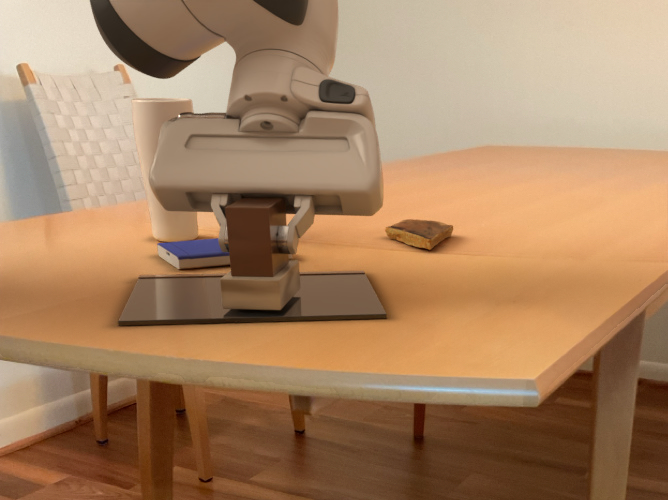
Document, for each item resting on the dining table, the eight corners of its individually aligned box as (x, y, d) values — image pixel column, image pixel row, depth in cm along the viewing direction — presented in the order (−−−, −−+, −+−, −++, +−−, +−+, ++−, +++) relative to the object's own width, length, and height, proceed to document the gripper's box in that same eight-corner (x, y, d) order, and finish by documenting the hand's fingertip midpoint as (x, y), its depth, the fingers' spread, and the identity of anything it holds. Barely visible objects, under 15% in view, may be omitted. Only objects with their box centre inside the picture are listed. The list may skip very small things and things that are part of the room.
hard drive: (264, 233, 104) (156, 241, 99) (292, 245, 98) (178, 254, 92) (265, 247, 105) (158, 256, 99) (292, 260, 98) (179, 270, 93)
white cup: (136, 238, 109) (119, 98, 102) (186, 232, 113) (173, 97, 106) (164, 246, 104) (149, 101, 97) (216, 240, 108) (204, 99, 101)
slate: (118, 325, 74) (117, 319, 74) (139, 280, 89) (139, 275, 89) (386, 318, 77) (386, 312, 77) (364, 275, 92) (364, 270, 92)
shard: (430, 252, 103) (430, 236, 102) (366, 248, 105) (366, 231, 104) (455, 237, 112) (456, 221, 111) (396, 232, 114) (396, 217, 113)
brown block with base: (280, 310, 76) (273, 209, 73) (222, 309, 77) (212, 208, 73) (300, 288, 83) (295, 195, 80) (247, 287, 84) (239, 195, 80)
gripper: (152, 86, 79) (125, 223, 75) (386, 89, 77) (371, 229, 73) (175, 138, 85) (151, 267, 81) (392, 142, 83) (379, 274, 79)
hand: (257, 249), depth 77 cm, fingers closed on brown block with base, 3 cm apart
